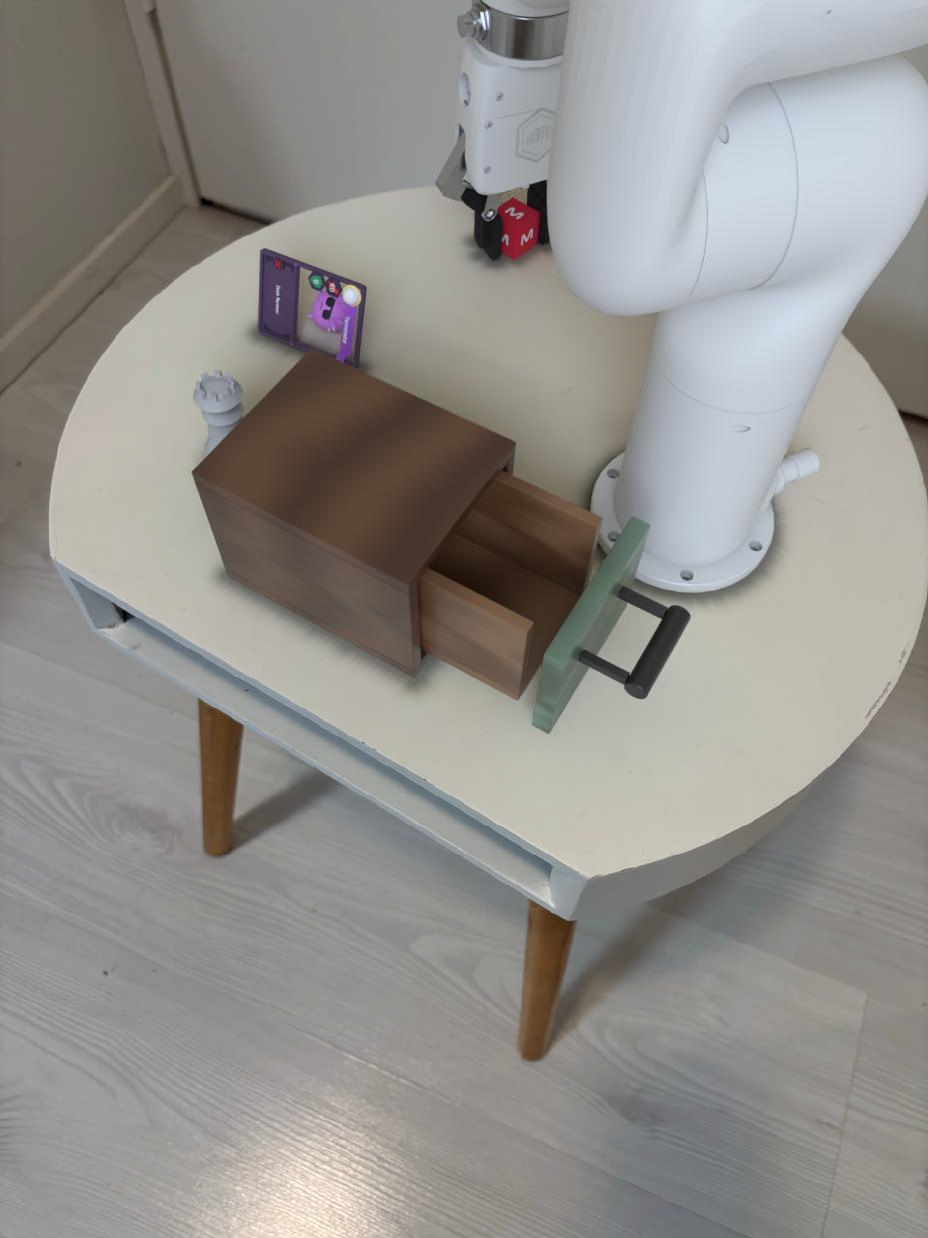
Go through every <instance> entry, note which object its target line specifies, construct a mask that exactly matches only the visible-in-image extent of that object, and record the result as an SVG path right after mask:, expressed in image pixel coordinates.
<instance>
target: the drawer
mask: <svg viewBox="0 0 928 1238" xmlns="http://www.w3.org/2000/svg"><path fill="white" fill-rule="evenodd" d="M602 520H603V518H602V517H600V516H598V515H596V514H594V513H592V512H590V510H587V509H585V508H583V507H581V506H579V505H577V504H574V503H572V502H570V501H568V500H567V499H564V498H561V497H559V496H558V495H556V494H553V493H551V492H549V491H547V490H545V489H543V488H540V487H539V486H536V485H534V484H532V483H530V482H527V481H526V480H524V479H521V478H519V477H517V476H515V475H514V474H513V475H511V474H509V473H507V472H504V471H502V470H501V471H500V473H499V474H498V475H497V477H496V478H495V479H494V481H493V482H492V483H491V485H490V486H489V487H488V489H487V490H486V491H485V493H484V494H483V495H482V497H481V498H480V499H479V501H478V502H477V503H476V505H475V506H474V507H473V509H472V510H471V511H470V513H469V514H468V515H467V517H466V518H465V519H464V521H463V522H462V523H461V525H460V526H459V527H458V529H457V530H456V531H455V533H454V534H453V535H452V537H451V538H450V539H449V541H448V542H447V543H446V545H445V546H444V547H443V549H442V550H441V551H440V553H439V554H438V555H437V557H436V558H435V559H434V561H433V562H432V563H431V565H430V566H429V567H428V569H427V570H426V571H425V573H424V574H423V575H422V577H421V578H420V579H419V581H418V582H417V585H418V605H419V625H420V645H421V649H422V650H424V651H426V652H427V653H429V654H431V655H430V656H433V657H435V658H437V659H439V660H441V661H443V662H444V663H446V664H448V665H450V666H451V667H453V668H455V669H457V670H459V671H461V672H463V673H465V674H466V675H468V676H470V677H472V678H474V679H476V680H478V681H480V682H482V683H483V684H485V685H487V686H489V687H491V688H493V689H494V690H497V691H498V692H500V693H502V694H504V695H506V696H507V697H510V698H511V699H513V700H515V701H517V702H518V701H520V699H521V697H522V696H523V694H524V693H525V691H526V689H527V687H528V686H529V685H530V683H531V681H532V680H533V678H534V677H535V675H536V674H537V672H538V671H539V669H540V668H541V670H540V675H539V681H538V687H537V693H536V698H535V703H534V709H533V714H532V720H531V726H533V727H535V729H538V730H540V731H542V732H543V733H545V734H547V735H549V734H550V733H551V732H552V730H553V728H554V727H555V725H556V723H557V721H559V719H560V717H561V715H562V714H563V712H564V710H565V709H566V707H567V706H568V704H569V702H570V701H571V699H572V697H573V695H574V694H575V692H576V691H577V689H578V687H579V685H580V684H581V682H582V680H583V679H584V677H585V676H586V674H587V672H588V670H589V669H592V670H593V671H596V672H598V673H600V674H602V675H603V676H605V677H608V678H609V679H612V680H613V681H615V682H618V683H619V684H621V685H623V688H624V690H625V692H626V693H627V694H628V695H629V696H631V697H632V698H635V699H638V700H645V699H646V698H647V697H648V696H649V694H650V693H651V691H652V689H653V687H654V685H655V684H656V682H657V679H658V678H659V677H660V674H661V673H662V671H663V669H664V667H665V665H666V664H667V662H668V660H669V658H670V656H671V655H672V653H673V651H674V650H675V648H676V646H677V645H678V642H679V640H680V639H681V637H682V635H683V634H684V631H685V630H686V628H687V626H688V624H689V622H690V621H691V616H692V615H691V613H690V612H689V610H687V608H685V607H683V606H681V605H678V604H671V605H670V606H669V607H668V606H666V605H664V604H662V603H660V602H658V601H656V600H653V599H652V598H650V597H649V596H648V597H647V596H645V594H644V595H643V594H641V593H640V592H637V591H635V590H633V589H632V588H633V586H634V583H635V579H636V578H635V576H636V572H637V569H638V565H639V562H640V559H641V555H642V552H643V549H644V545H645V542H646V539H647V535H648V532H649V529H650V524H648V523H646V522H644V521H642V520H640V519H637V518H635V517H633V516H632V517H631V518H630V520H629V521H628V523H627V525H626V526H625V528H624V529H623V531H622V532H621V534H620V536H619V537H618V539H617V540H616V542H615V543H614V545H613V547H612V548H611V550H610V551H609V553H608V554H606V556H605V557H604V559H603V560H602V562H601V564H600V565H599V567H598V569H596V571H595V573H594V575H593V576H592V578H591V579H590V576H591V573H592V567H593V563H594V560H595V559H594V558H595V555H596V550H597V545H598V543H599V542H598V537H599V533H600V529H601V524H602ZM589 580H590V581H589ZM628 604H629V605H632V606H633V607H635V608H638V609H640V610H641V611H643V612H646V613H648V614H650V615H651V616H654V617H656V618H658V619H660V622H659V624H658V625H657V627H656V629H655V631H654V632H653V634H652V636H651V637H650V639H649V640H648V643H647V645H646V646H645V648H644V649H643V651H642V653H641V655H640V656H639V658H638V660H637V662H636V663H635V665H634V666H633V669H632V670H631V672H629V671H628V670H626V669H624V668H621V667H620V666H618V665H616V664H614V663H612V662H610V661H608V660H606V659H604V658H603V657H600V656H598V654H599V652H600V651H601V649H602V648H603V646H604V644H605V642H606V641H607V639H608V638H609V636H610V634H611V633H612V632H613V629H614V628H615V626H616V624H617V623H618V621H619V619H620V618H621V616H622V615H623V613H624V611H625V609H626V608H627V605H628Z"/></svg>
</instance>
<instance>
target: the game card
mask: <svg viewBox="0 0 928 1238" xmlns="http://www.w3.org/2000/svg"><path fill="white" fill-rule="evenodd" d="M301 269H303V270H307V271H309V272H311V273H310V274H309V276H308V277H307V279H308V282H309V285H310V288H311V289H313V290H314V291H316V294H317V296H316V297H315V300H314V301H313V304H312V312H311V313H308V314H307V315H306V317H308V318H309V319H310V320H313V321H314V323H316V325H317V326H318V327H319V328H320V329H322V330H323V331H325V332H327V333H331V334H332V333H340V332H341V337H340V338H341V339H340V345H339V351H338V352H337V354H336V355H334V354H331V353H328V352H326V351H324V350H321V349H318V348H316V347H313V346H311V345H308V344H306V343H304V342H300V341H298V340H297V332H298V331H297V330H298V314H299V299H300V298H299V297H300V283H301V282H300V278H301ZM258 273H259V274H258V308H257V311H258V312H257V332H258V333H259V334H260V335H262V336H265V337H267V338H270V339H272V340H275V341H278V342H280V343H282V344H284V345H287V346H291V347H292V348H295V349H297V350H300V351H303V352H304V353H305V352H306V353H307V352H308V351H309V350H310V349H311V348H312V349H314V350H317V351H319V352H321V353H323V354H325V355H328V356H330V357H332V358H334V359H336V360H338V361H341V362H343V363H345V364H347V365H349V366H352V367H354V368H356V369H358V370H359V366H360V359H361V350H362V349H361V348H362V340H363V339H362V338H363V329H364V322H365V321H364V320H365V311H366V300H367V292H368V287H367V285H365V284H363V283H361V282H359V281H355V280H353V279H350V278H347V277H344V276H342V275H339V274H336V273H334V272H331V271H328V270H325V269H323V268H320V267H318V266H316V265H312V264H310V263H307V262H304V261H302V260H299V259H296V258H293V257H290V256H288V255H286V254H283V253H280V252H277V251H276V250H272V249H270V248H266V247H263V248H261V249H260V251H259V272H258ZM325 278H327V279H325ZM341 283H342V284H344V285H345V286H344V287H342V284H341ZM324 288H325V290H324ZM357 309H358V311H357ZM356 315H357V319H356ZM355 324H356V328H355ZM355 329H356V330H355ZM354 332H355V340H354V349H353V358H352V359H353V360H352V362H351V361H349V360H346V358H349V359H351V354H352V346H353V339H354Z"/></svg>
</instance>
